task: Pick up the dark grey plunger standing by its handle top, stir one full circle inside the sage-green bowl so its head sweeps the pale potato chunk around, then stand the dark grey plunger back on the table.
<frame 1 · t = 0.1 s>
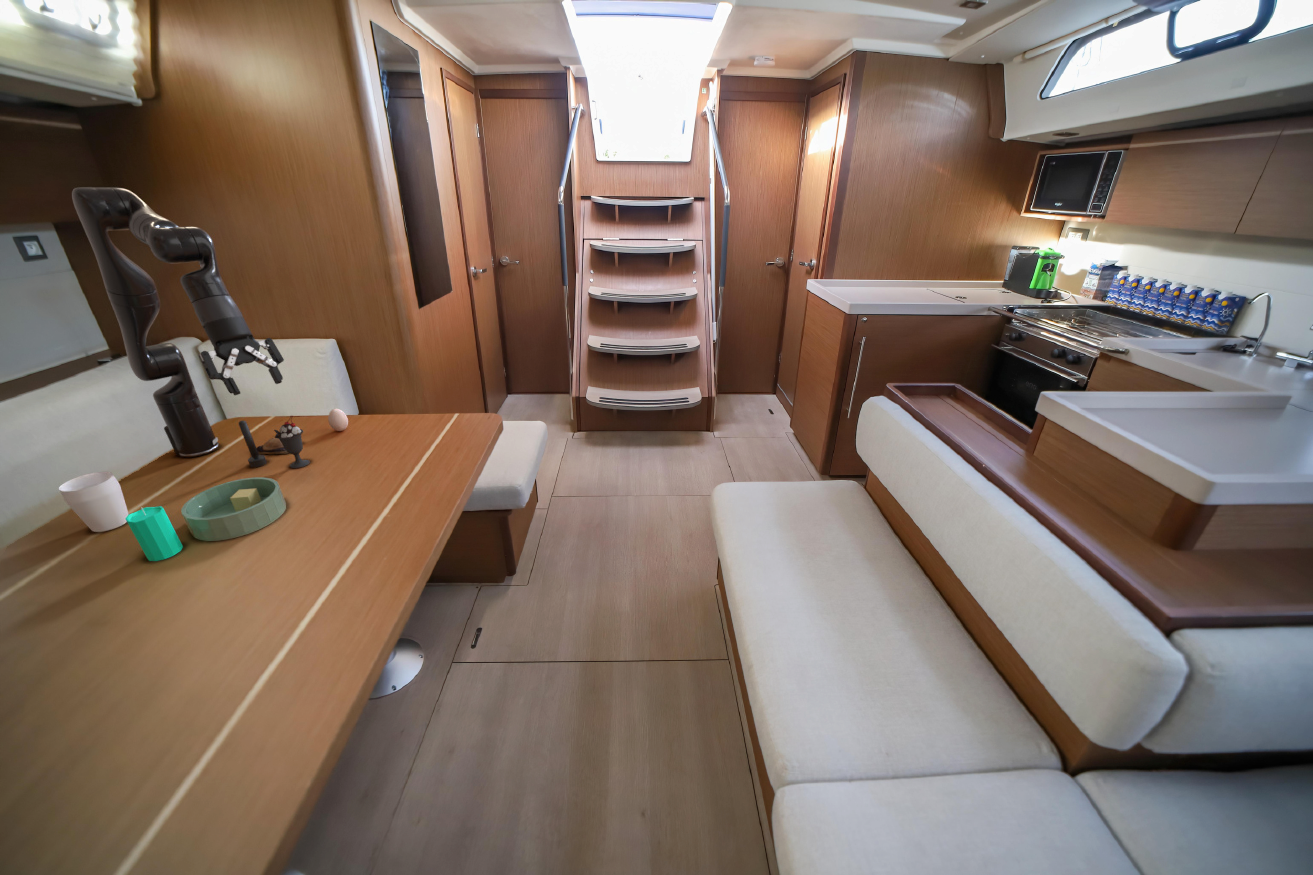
hand: (258, 388, 115), 31 cm above the table, tool tilted 20°, fingers open, 8 cm apart
potato chunk: (249, 506, 126), point 1 cm above the table, touching bowl
sundae: (300, 464, 147), on the table
egg: (341, 431, 168), on the table
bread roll: (279, 449, 156), on the table
bowl: (240, 517, 123), on the table
dark grey plunger: (258, 464, 147), on the table
candle: (165, 553, 111), on the table
cup: (111, 524, 120), on the table
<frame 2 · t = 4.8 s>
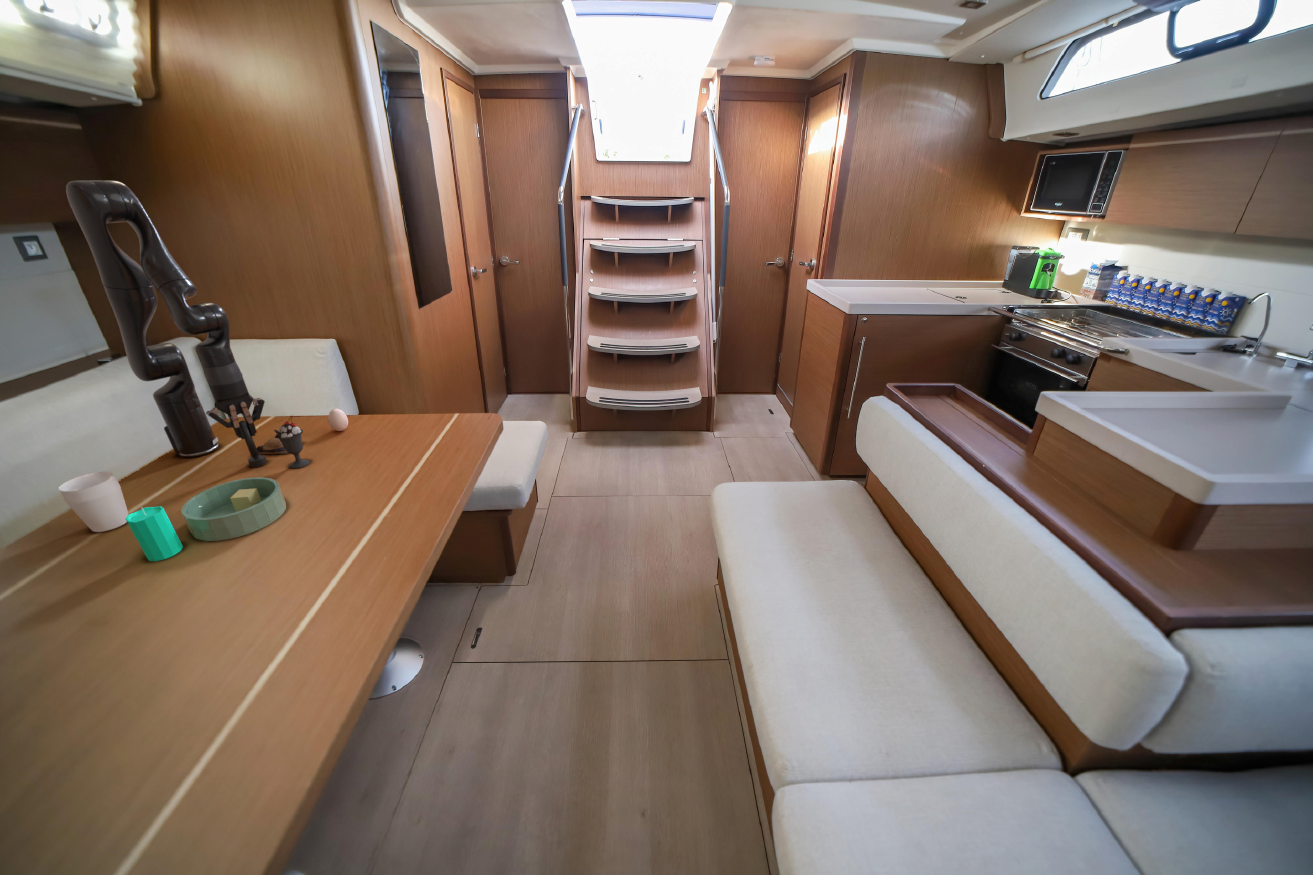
hand: (247, 436, 143), 9 cm above the table, tool pointing down, fingers closed on dark grey plunger, 2 cm apart
dark grey plunger: (258, 464, 147), on the table, touching gripper
everything else where it was.
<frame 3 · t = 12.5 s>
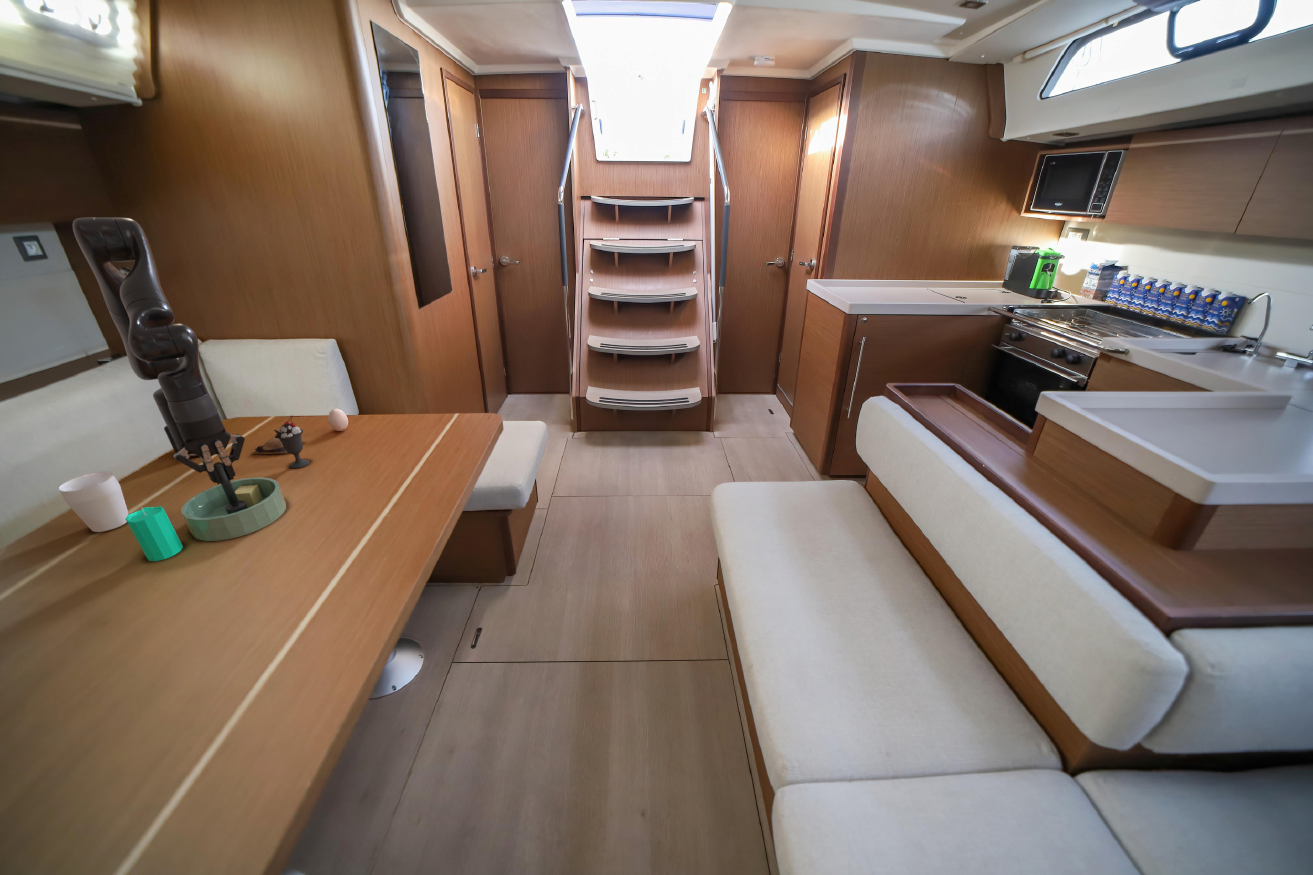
hand: (224, 480, 119), 10 cm above the table, tool pointing down, fingers closed on dark grey plunger, 2 cm apart
potato chunk: (250, 502, 128), point 1 cm above the table, touching bowl
dark grey plunger: (238, 511, 123), point 1 cm above the table, touching gripper
everything else where it was.
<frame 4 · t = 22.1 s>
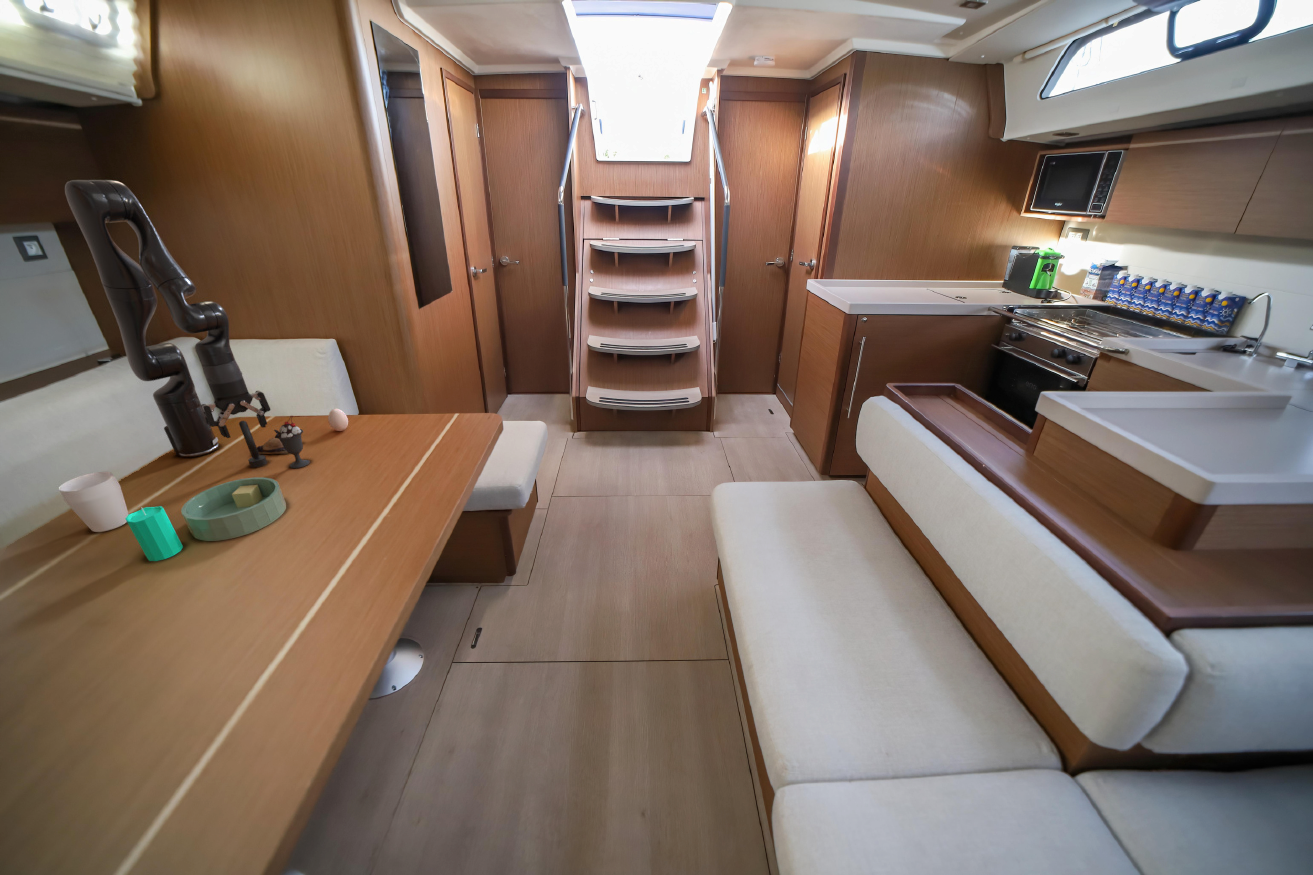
hand: (245, 431, 142), 10 cm above the table, tool pointing down, fingers open, 8 cm apart
dark grey plunger: (259, 464, 147), on the table
everything else where it was.
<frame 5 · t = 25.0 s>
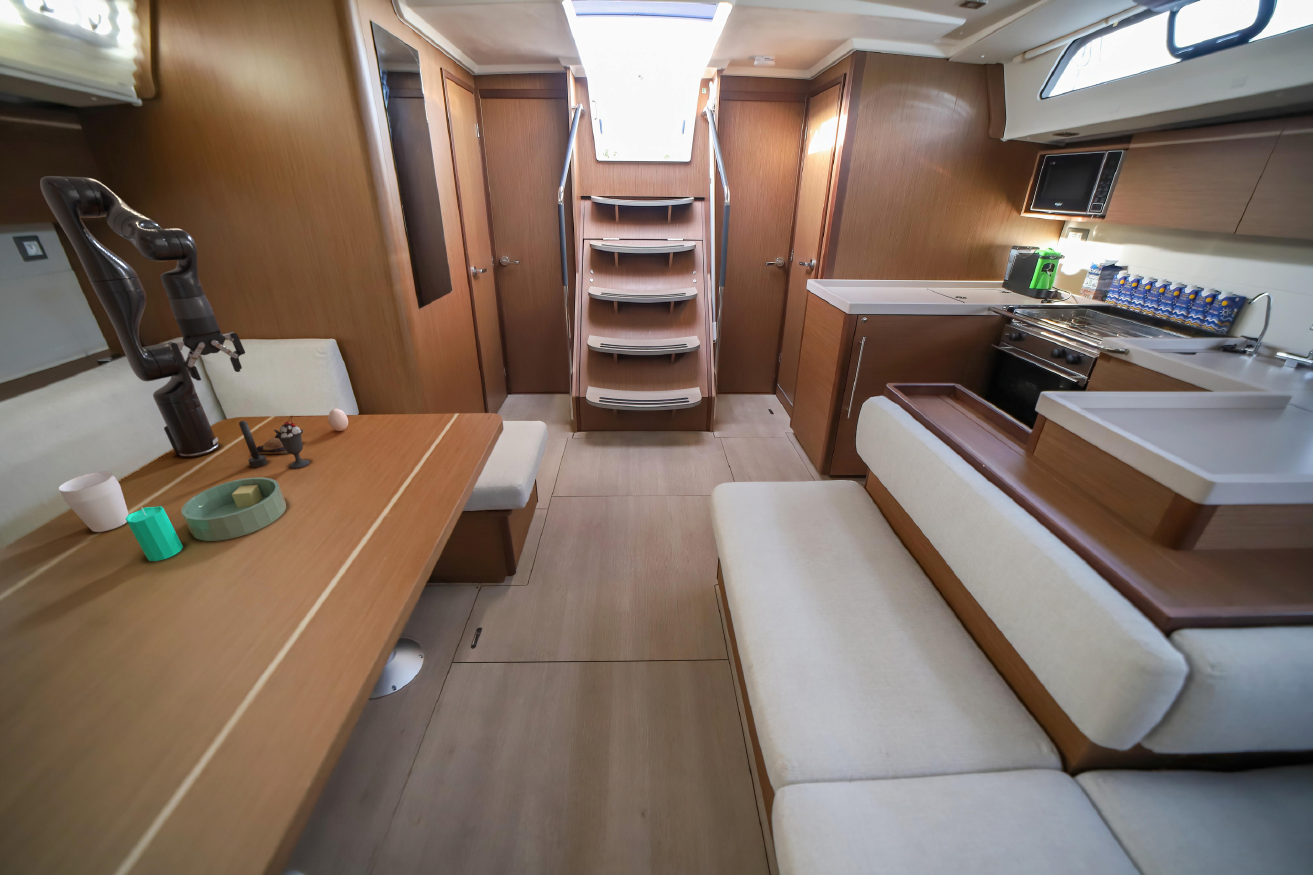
hand: (218, 375, 133), 28 cm above the table, tool pointing down, fingers open, 8 cm apart
nothing on the table moved.
at the end: potato chunk moved 1.9 cm from its start; potato chunk inside the target area in the bowl (5.8 cm from its centre), point 0.6 cm above the bowl's base; dark grey plunger tilted 0° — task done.
